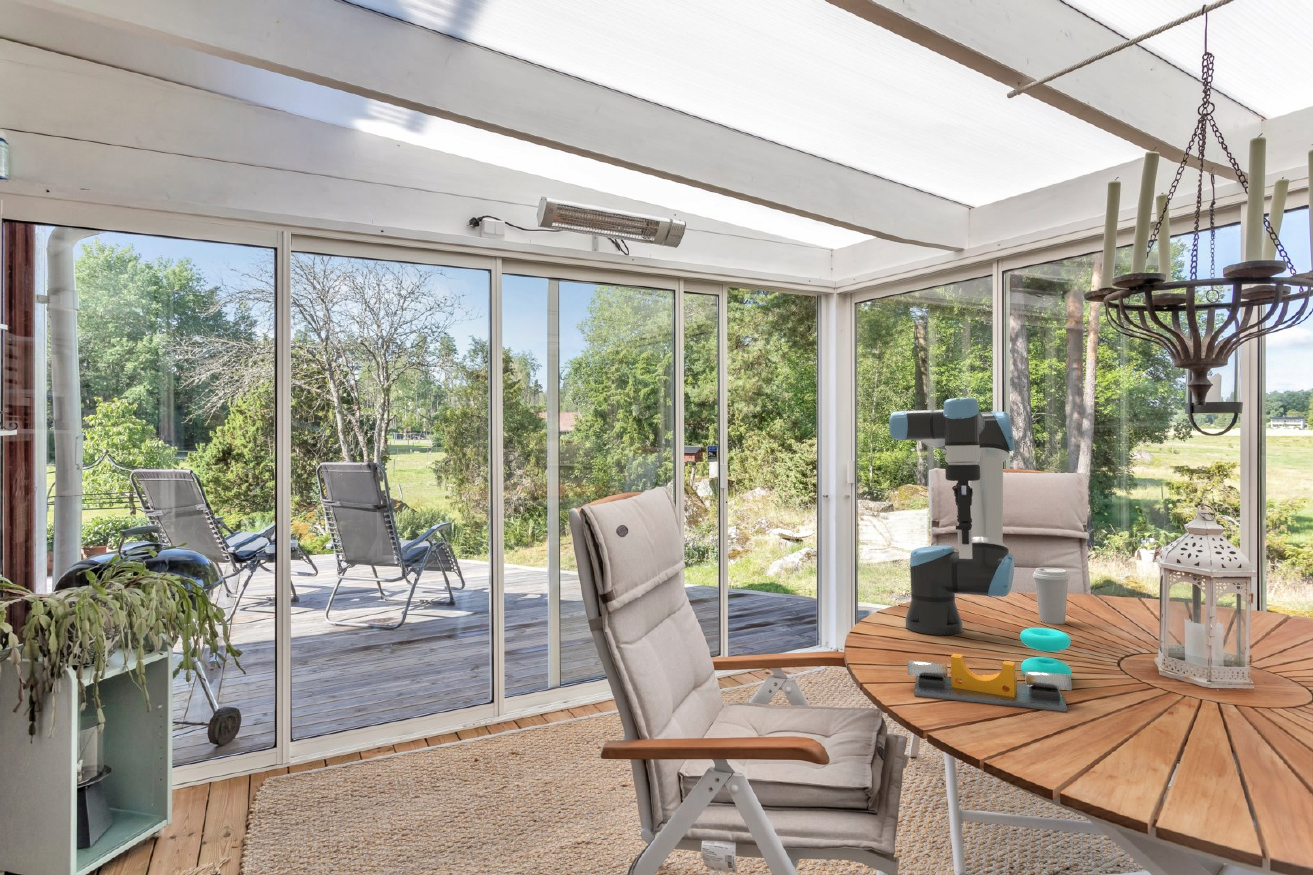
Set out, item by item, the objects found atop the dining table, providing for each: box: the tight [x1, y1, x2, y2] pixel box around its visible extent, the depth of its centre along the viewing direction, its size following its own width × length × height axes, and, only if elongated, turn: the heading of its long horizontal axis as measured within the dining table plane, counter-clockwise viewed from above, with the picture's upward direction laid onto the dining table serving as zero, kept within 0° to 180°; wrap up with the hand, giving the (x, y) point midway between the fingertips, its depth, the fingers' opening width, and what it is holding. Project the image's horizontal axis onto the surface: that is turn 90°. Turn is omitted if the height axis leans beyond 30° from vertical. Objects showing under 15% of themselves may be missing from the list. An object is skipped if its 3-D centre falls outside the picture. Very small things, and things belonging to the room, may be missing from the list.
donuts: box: [1019, 627, 1073, 677], centre depth 158 cm, size 10×10×10 cm
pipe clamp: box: [950, 653, 1018, 697], centre depth 148 cm, size 12×4×6 cm, turn 56°
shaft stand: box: [907, 659, 1072, 713], centre depth 148 cm, size 12×31×6 cm, turn 68°
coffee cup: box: [1032, 567, 1071, 625], centre depth 205 cm, size 10×10×15 cm
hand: (964, 554), depth 165 cm, fingers open, 13 cm apart
